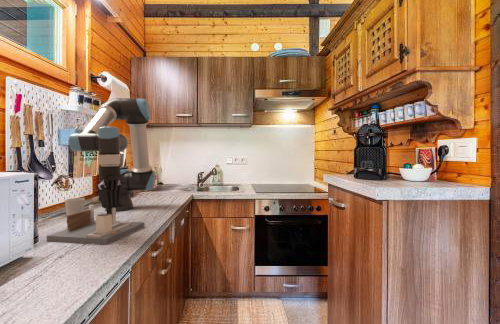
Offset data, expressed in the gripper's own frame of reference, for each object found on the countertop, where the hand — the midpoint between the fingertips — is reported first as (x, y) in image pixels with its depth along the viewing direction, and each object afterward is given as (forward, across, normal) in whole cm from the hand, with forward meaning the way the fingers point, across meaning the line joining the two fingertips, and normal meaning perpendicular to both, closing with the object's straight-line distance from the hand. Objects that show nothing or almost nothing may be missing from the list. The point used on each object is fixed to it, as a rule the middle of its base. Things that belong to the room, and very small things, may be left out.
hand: (111, 223), depth 112 cm
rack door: (+2, -2, -18) cm, 18 cm away
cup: (+5, -11, -28) cm, 31 cm away
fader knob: (+2, +4, 0) cm, 5 cm away
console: (+5, -1, -7) cm, 9 cm away
